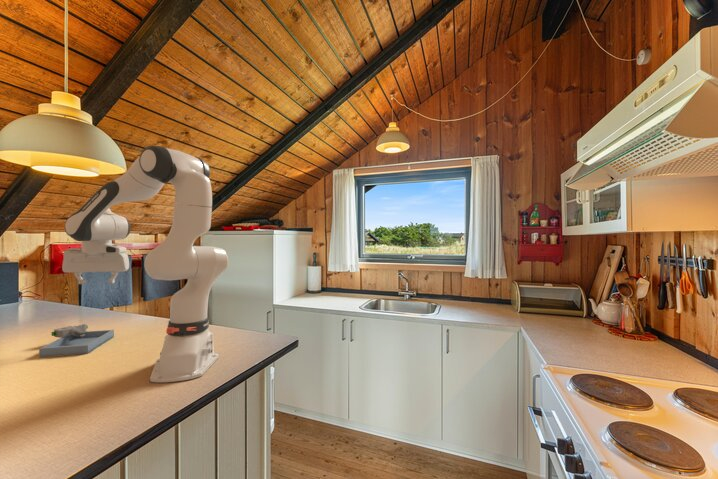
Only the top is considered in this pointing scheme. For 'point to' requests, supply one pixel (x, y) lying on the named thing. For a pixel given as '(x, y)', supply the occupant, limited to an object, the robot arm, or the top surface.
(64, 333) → the mechanical component
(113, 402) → the top surface
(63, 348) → the parts tray
